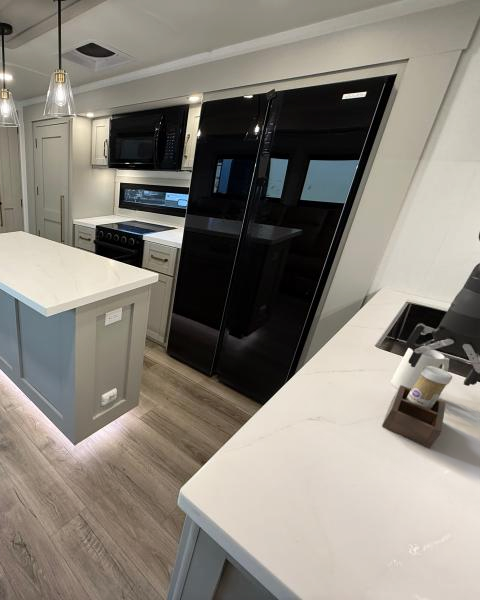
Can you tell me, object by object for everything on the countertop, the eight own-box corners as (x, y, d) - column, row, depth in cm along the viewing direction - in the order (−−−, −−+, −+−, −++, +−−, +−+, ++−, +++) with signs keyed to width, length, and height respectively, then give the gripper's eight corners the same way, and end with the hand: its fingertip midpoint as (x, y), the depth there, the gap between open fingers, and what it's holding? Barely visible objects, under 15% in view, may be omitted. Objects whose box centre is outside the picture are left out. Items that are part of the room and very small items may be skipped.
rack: (435, 418, 76) (445, 402, 74) (429, 449, 67) (441, 432, 65) (391, 399, 82) (400, 384, 80) (381, 426, 73) (391, 410, 71)
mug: (400, 393, 84) (421, 356, 80) (383, 378, 91) (402, 343, 86) (443, 400, 83) (468, 363, 78) (423, 384, 89) (445, 349, 84)
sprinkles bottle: (393, 410, 78) (419, 366, 73) (406, 407, 79) (433, 364, 74) (415, 423, 74) (444, 378, 69) (428, 421, 75) (458, 376, 70)
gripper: (530, 319, 62) (485, 384, 69) (430, 296, 72) (398, 355, 79) (534, 330, 58) (486, 398, 64) (427, 304, 68) (394, 365, 74)
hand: (438, 374), depth 71 cm, fingers open, 8 cm apart
